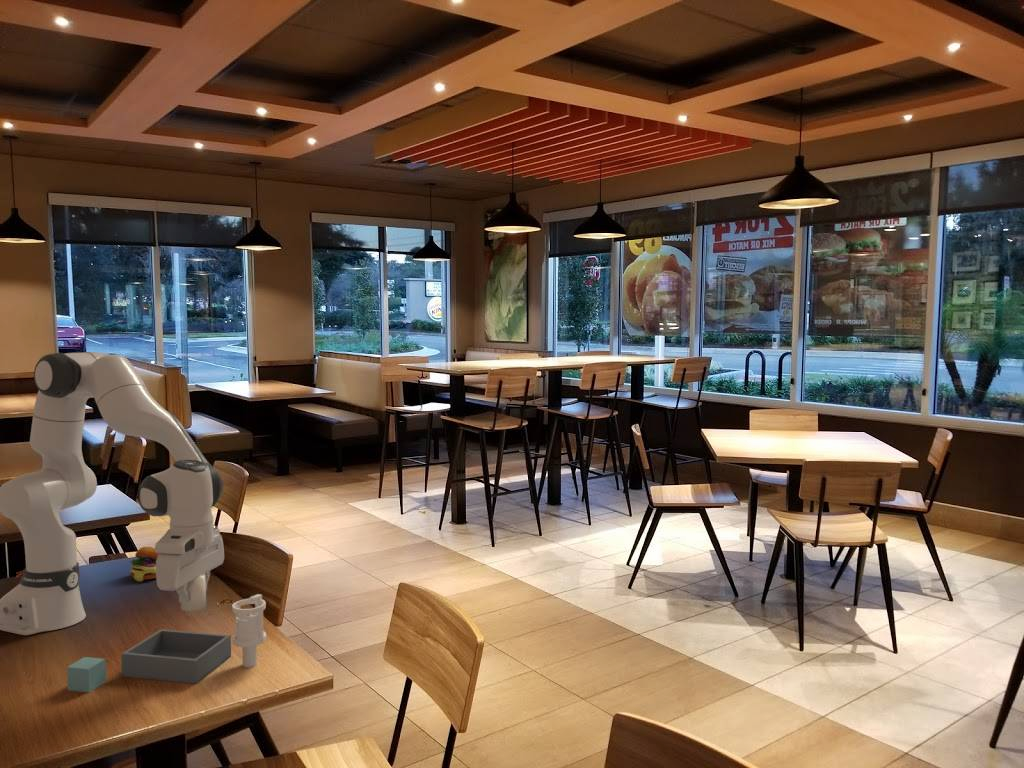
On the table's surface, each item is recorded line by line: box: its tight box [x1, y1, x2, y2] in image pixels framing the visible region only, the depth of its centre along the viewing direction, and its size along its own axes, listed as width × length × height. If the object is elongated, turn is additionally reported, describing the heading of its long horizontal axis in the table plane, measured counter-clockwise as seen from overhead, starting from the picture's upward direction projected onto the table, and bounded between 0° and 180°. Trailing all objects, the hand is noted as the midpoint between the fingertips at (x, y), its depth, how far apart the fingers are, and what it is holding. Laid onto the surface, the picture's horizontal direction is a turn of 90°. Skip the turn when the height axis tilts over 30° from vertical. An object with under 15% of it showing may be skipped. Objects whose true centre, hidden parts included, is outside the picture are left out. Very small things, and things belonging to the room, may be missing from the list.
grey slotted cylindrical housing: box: [231, 593, 267, 668], centre depth 171 cm, size 7×7×15 cm
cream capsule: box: [180, 574, 207, 612], centre depth 168 cm, size 5×5×7 cm
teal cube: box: [66, 656, 107, 693], centre depth 161 cm, size 5×5×5 cm
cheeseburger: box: [129, 546, 160, 583], centre depth 231 cm, size 10×11×10 cm
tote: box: [121, 628, 232, 684], centre depth 170 cm, size 18×14×5 cm
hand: (193, 597), depth 168 cm, fingers closed on cream capsule, 5 cm apart
